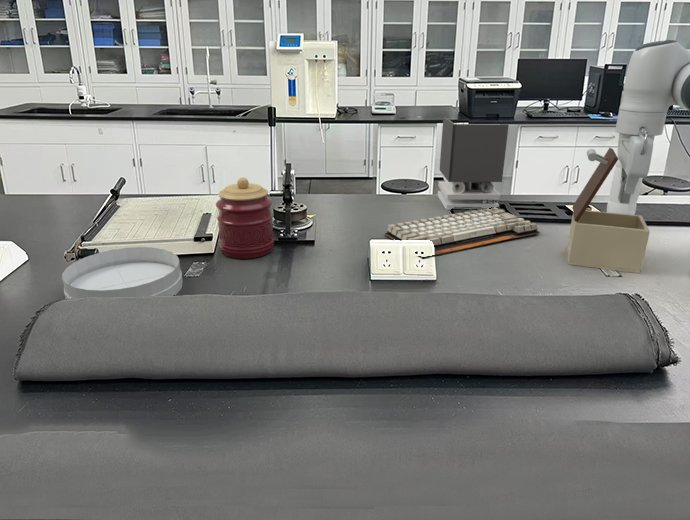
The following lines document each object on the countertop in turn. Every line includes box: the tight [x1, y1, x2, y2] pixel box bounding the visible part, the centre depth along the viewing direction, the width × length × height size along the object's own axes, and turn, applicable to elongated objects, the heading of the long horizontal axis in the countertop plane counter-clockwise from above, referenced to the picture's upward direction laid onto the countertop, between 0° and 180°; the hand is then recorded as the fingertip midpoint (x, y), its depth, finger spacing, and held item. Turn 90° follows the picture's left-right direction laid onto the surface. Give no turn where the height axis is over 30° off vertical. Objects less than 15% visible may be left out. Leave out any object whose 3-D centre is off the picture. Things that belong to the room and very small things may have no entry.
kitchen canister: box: [215, 177, 275, 260], centre depth 125 cm, size 13×13×18 cm
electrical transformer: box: [437, 116, 509, 211], centre depth 163 cm, size 16×19×25 cm
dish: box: [61, 246, 184, 300], centre depth 107 cm, size 22×22×5 cm
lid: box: [572, 147, 618, 222], centre depth 118 cm, size 15×12×5 cm
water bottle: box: [606, 160, 644, 215], centre depth 140 cm, size 7×7×25 cm
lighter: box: [618, 177, 631, 204], centre depth 115 cm, size 7×2×8 cm, turn 161°
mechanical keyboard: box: [383, 207, 541, 256], centre depth 138 cm, size 38×19×3 cm, turn 117°
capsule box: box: [566, 209, 651, 274], centre depth 121 cm, size 15×12×10 cm
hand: (626, 189), depth 116 cm, fingers closed on lighter, 6 cm apart
